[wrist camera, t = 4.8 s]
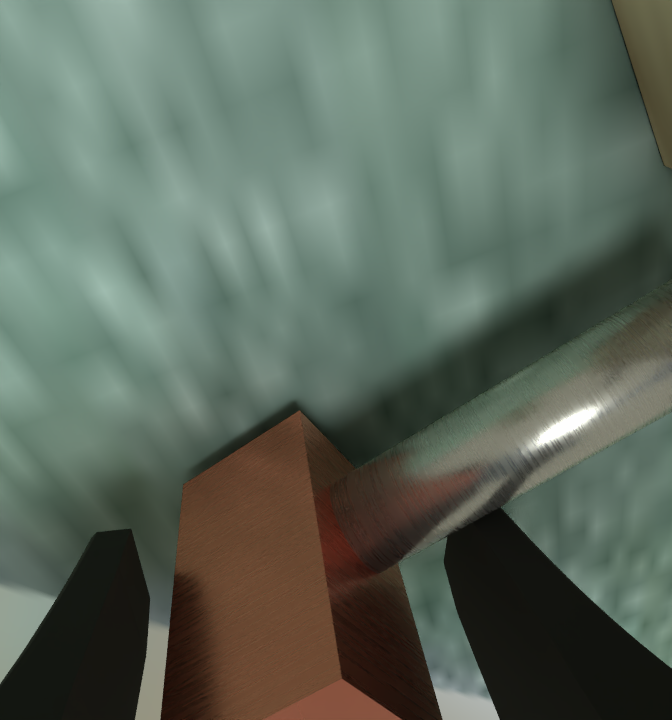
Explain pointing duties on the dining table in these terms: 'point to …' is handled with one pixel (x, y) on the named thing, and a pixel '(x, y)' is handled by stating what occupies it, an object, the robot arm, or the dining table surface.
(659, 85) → the dock
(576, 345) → the lock pin
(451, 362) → the dining table surface
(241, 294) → the dining table surface
